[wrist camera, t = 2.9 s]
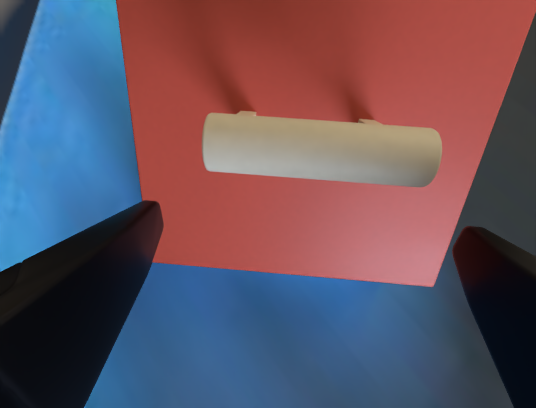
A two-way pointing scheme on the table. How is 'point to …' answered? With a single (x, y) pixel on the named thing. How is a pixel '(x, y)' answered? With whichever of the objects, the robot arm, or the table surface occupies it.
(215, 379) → the table surface
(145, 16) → the lid
